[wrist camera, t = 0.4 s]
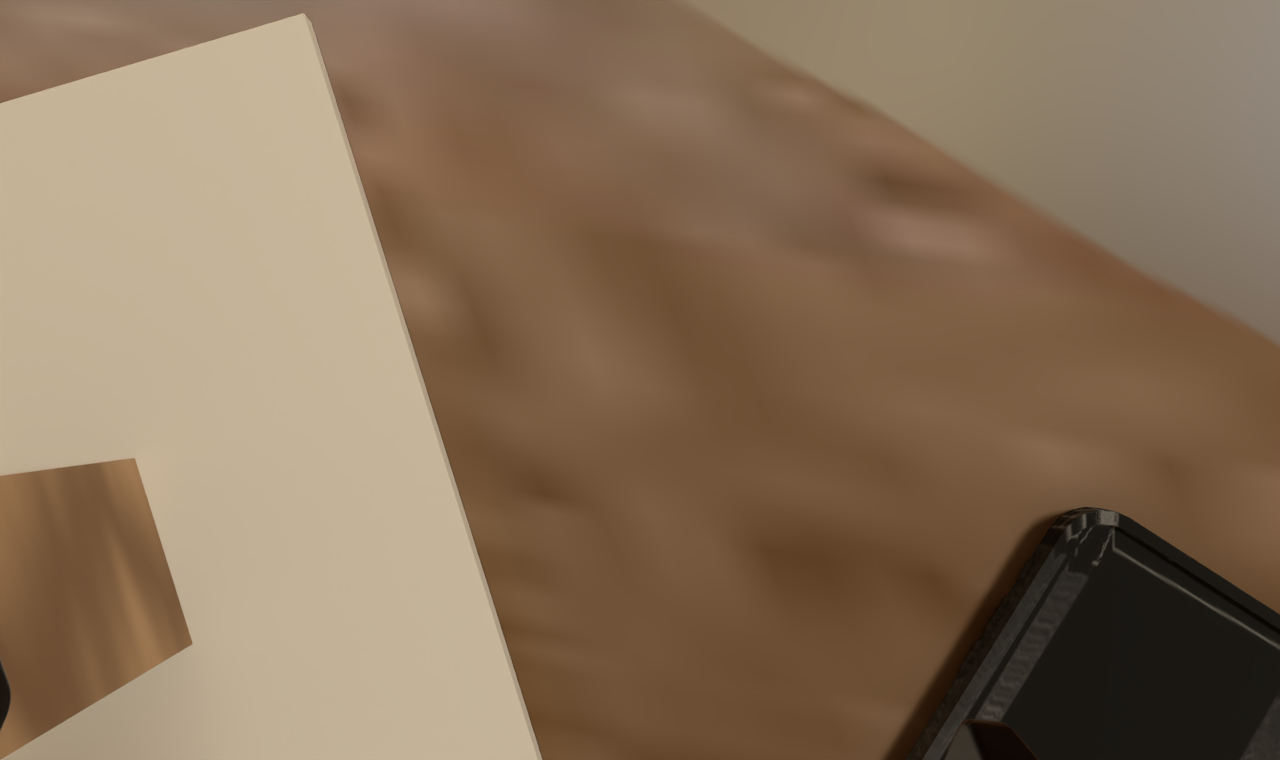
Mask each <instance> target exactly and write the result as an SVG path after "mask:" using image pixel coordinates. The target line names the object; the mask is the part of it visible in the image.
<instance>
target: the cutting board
mask: <svg viewBox="0 0 1280 760" xmlns="http://www.w3.org/2000/svg"><path fill="white" fill-rule="evenodd" d="M130 458H135V460H136V463H137V467H138V470H139V473H140V476H141V479H142V483H143V486H144V489H145V492H146V495H147V499H148V502H149V505H150V508H151V511H152V515H153V518H154V521H155V524H156V528H157V531H158V534H159V537H160V540H161V544H162V547H163V550H164V553H165V556H166V560H167V563H168V566H169V569H170V572H171V576H172V579H173V582H174V585H175V588H176V592H177V595H178V598H179V601H180V604H181V608H182V611H183V614H184V617H185V620H186V624H187V627H188V630H189V633H190V636H191V640H192V643H193V644H192V645H190V646H189V647H187V648H185V649H184V650H182V651H180V652H179V653H177V654H175V655H174V656H172V657H170V658H169V659H167V660H165V661H164V662H162V663H160V664H159V665H157V666H155V667H154V668H152V669H150V670H149V671H147V672H145V673H144V674H142V675H140V676H139V677H137V678H135V679H134V680H132V681H130V682H129V683H127V684H125V685H124V686H122V687H121V688H119V689H117V690H116V691H114V692H112V693H111V694H109V695H107V696H106V697H104V698H102V699H101V700H99V701H97V702H96V703H94V704H92V705H91V706H89V707H87V708H86V709H84V710H82V711H81V712H79V713H77V714H76V715H74V716H72V717H71V718H69V719H67V720H66V721H64V722H62V723H61V724H59V725H57V726H56V727H54V728H52V729H51V730H49V731H47V732H46V733H44V734H42V735H41V736H39V737H37V738H36V739H34V740H33V741H31V742H29V743H28V744H26V745H24V746H23V747H21V748H19V749H18V750H16V751H14V752H13V753H11V754H9V755H8V756H6V757H4V758H3V759H1V760H542V757H541V754H540V751H539V748H538V744H537V741H536V738H535V735H534V732H533V728H532V725H531V722H530V719H529V716H528V712H527V709H526V706H525V703H524V700H523V696H522V693H521V690H520V687H519V684H518V681H517V677H516V674H515V671H514V668H513V665H512V661H511V658H510V655H509V652H508V649H507V645H506V642H505V639H504V636H503V633H502V630H501V626H500V623H499V620H498V617H497V614H496V610H495V607H494V604H493V601H492V598H491V594H490V591H489V588H488V585H487V582H486V578H485V575H484V572H483V569H482V566H481V563H480V559H479V556H478V553H477V550H476V547H475V543H474V540H473V537H472V534H471V531H470V527H469V524H468V521H467V518H466V515H465V512H464V508H463V505H462V502H461V499H460V496H459V492H458V489H457V486H456V483H455V480H454V476H453V473H452V470H451V467H450V464H449V461H448V457H447V454H446V451H445V448H444V445H443V441H442V438H441V435H440V432H439V429H438V425H437V422H436V419H435V416H434V413H433V409H432V406H431V403H430V400H429V397H428V394H427V390H426V387H425V384H424V381H423V378H422V374H421V371H420V368H419V365H418V362H417V358H416V355H415V352H414V349H413V346H412V343H411V339H410V336H409V333H408V330H407V327H406V323H405V320H404V317H403V314H402V311H401V307H400V304H399V301H398V298H397V295H396V291H395V288H394V285H393V282H392V279H391V276H390V272H389V269H388V266H387V263H386V260H385V256H384V253H383V250H382V247H381V244H380V240H379V237H378V234H377V231H376V228H375V225H374V221H373V218H372V215H371V212H370V209H369V205H368V202H367V199H366V196H365V193H364V189H363V186H362V183H361V180H360V177H359V174H358V170H357V167H356V164H355V161H354V158H353V154H352V151H351V148H350V145H349V142H348V138H347V135H346V132H345V129H344V126H343V122H342V119H341V116H340V113H339V110H338V107H337V103H336V100H335V97H334V94H333V91H332V87H331V84H330V81H329V78H328V75H327V71H326V68H325V65H324V62H323V59H322V56H321V52H320V49H319V46H318V43H317V40H316V36H315V33H314V30H313V27H312V24H311V22H310V21H309V19H308V18H307V17H306V16H305V14H304V13H303V14H300V15H296V16H293V17H290V18H286V19H283V20H280V21H276V22H273V23H269V24H266V25H263V26H259V27H256V28H253V29H249V30H246V31H243V32H239V33H236V34H232V35H229V36H226V37H222V38H219V39H216V40H212V41H209V42H205V43H202V44H199V45H195V46H192V47H189V48H185V49H182V50H178V51H175V52H172V53H168V54H165V55H162V56H158V57H155V58H152V59H148V60H145V61H141V62H138V63H135V64H131V65H128V66H125V67H121V68H118V69H114V70H111V71H108V72H104V73H101V74H98V75H94V76H91V77H88V78H84V79H81V80H77V81H74V82H71V83H67V84H64V85H61V86H57V87H54V88H50V89H47V90H44V91H40V92H37V93H34V94H30V95H27V96H23V97H20V98H17V99H13V100H10V101H7V102H3V103H0V476H3V475H10V474H18V473H25V472H33V471H40V470H48V469H55V468H63V467H70V466H78V465H85V464H93V463H100V462H108V461H115V460H123V459H130Z"/></svg>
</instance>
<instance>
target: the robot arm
mask: <svg viewBox="0 0 1280 760" xmlns="http://www.w3.org/2000/svg"><path fill="white" fill-rule="evenodd" d="M10 704H11V687H10V684H9V681H8V678H7V675H6V672H5V670H4V667H3V664H2V661H1V659H0V731H1V729H2V727H3V724H4V722H5V720H6V717H7V715H8V712H9V708H10ZM944 760H1039V759H1038V758H1037V757H1036V755H1035V754H1034V753H1033V752H1032V751H1031V750H1030V748H1029V747H1028V746H1027V745H1026V744H1025V742H1024V741H1023V740H1022V739H1021V738H1020V737H1019V735H1018V734H1017V733H1016V732H1015V731H1014V730H1013V729H1012V728H1011V727H1010V726H1008V725H1007V724H1005V723H1002V722H998V721H987V720H976V719H966V720H964V721H963V722H962V723H960V725H959V727H958V728H957V730H956V733H955V735H954V737H953V740H952V742H951V744H950V747H949V749H948V752H947V754H946V756H945V759H944Z"/></svg>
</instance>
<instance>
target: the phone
mask: <svg viewBox="0 0 1280 760" xmlns="http://www.w3.org/2000/svg"><path fill="white" fill-rule="evenodd" d="M985 630H986V631H985V633H984V635H983V636H982V638H981V639H980V640H977V642H976V643H975V645H974V647H973V648H972V650H971V651H970V653H969V655H968V656H967V658H966V659H965V661H964V663H963V664H962V666H961V668H960V670H961V672H960V673H959V675H958V676H957V678H956V680H955V681H954V683H953V684H952V686H951V688H950V689H949V691H948V692H947V694H946V696H945V697H944V699H943V700H942V702H941V704H940V705H939V707H938V709H937V710H936V712H935V713H934V715H933V717H932V718H931V720H930V721H929V723H928V725H927V726H926V728H925V729H924V731H923V733H922V734H921V736H920V737H919V739H918V741H917V742H916V744H915V746H914V747H913V749H912V750H911V752H910V754H909V755H908V757H907V758H906V760H944V759H945V756H946V754H947V752H948V749H949V747H950V744H951V742H952V740H953V737H954V735H955V733H956V730H957V728H958V727H959V725H960V723H962V722H963V721H964V720H966V719H976V720H987V721H998V722H1002V723H1005V724H1007V725H1008V726H1010V727H1011V728H1012V729H1013V730H1014V731H1015V732H1016V733H1017V734H1018V735H1019V737H1020V738H1021V739H1022V740H1023V741H1024V742H1025V744H1026V745H1027V746H1028V747H1029V748H1030V750H1031V751H1032V752H1033V753H1034V754H1035V755H1036V757H1037V758H1038V759H1039V760H1280V614H1278V613H1276V612H1275V611H1273V610H1272V609H1270V608H1269V607H1267V606H1266V605H1264V604H1262V603H1261V602H1259V601H1258V600H1256V599H1255V598H1253V597H1252V596H1250V595H1248V594H1247V593H1245V592H1244V591H1242V590H1241V589H1239V588H1238V587H1236V586H1235V585H1233V584H1231V583H1230V582H1228V581H1227V580H1225V579H1224V578H1222V577H1221V576H1219V575H1217V574H1216V573H1214V572H1213V571H1211V570H1210V569H1208V568H1207V567H1205V566H1203V565H1202V564H1200V563H1199V562H1197V561H1196V560H1194V559H1193V558H1191V557H1190V556H1188V555H1186V554H1185V553H1183V552H1182V551H1180V550H1179V549H1177V548H1176V547H1174V546H1172V545H1171V544H1169V543H1168V542H1166V541H1165V540H1163V539H1162V538H1160V537H1158V536H1157V535H1155V534H1154V533H1152V532H1151V531H1149V530H1148V529H1146V528H1145V527H1143V526H1141V525H1140V524H1138V523H1137V522H1135V521H1134V520H1132V519H1131V518H1129V517H1127V516H1124V515H1122V514H1120V513H1117V512H1115V511H1110V510H1106V509H1101V508H1092V507H1083V508H1079V509H1074V510H1071V511H1069V512H1068V513H1066V514H1064V515H1063V516H1061V517H1059V518H1058V519H1057V520H1056V522H1055V523H1054V524H1053V525H1052V526H1051V527H1050V529H1049V530H1048V532H1047V533H1046V535H1045V536H1044V538H1043V540H1042V541H1041V543H1040V544H1039V546H1038V548H1037V549H1036V551H1035V552H1034V554H1033V556H1032V557H1031V558H1030V559H1029V561H1028V562H1027V564H1026V566H1025V567H1024V569H1023V570H1022V572H1021V574H1020V575H1019V578H1018V580H1017V581H1016V583H1015V585H1014V586H1013V588H1012V589H1011V591H1010V593H1009V594H1008V596H1007V597H1005V598H1004V600H1003V601H1002V603H1001V605H1000V606H999V608H998V609H997V611H996V613H995V614H994V616H993V617H992V619H991V621H990V622H989V624H988V625H987V627H986V629H985Z"/></svg>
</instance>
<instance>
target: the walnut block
mask: <svg viewBox="0 0 1280 760" xmlns="http://www.w3.org/2000/svg"><path fill="white" fill-rule="evenodd" d="M192 644H193V643H192V640H191V636H190V633H189V630H188V627H187V624H186V620H185V617H184V614H183V611H182V608H181V604H180V601H179V598H178V595H177V592H176V588H175V585H174V582H173V579H172V576H171V572H170V569H169V566H168V563H167V560H166V556H165V553H164V550H163V547H162V544H161V540H160V537H159V534H158V531H157V528H156V524H155V521H154V518H153V515H152V511H151V508H150V505H149V502H148V499H147V495H146V492H145V489H144V486H143V483H142V479H141V476H140V473H139V470H138V467H137V463H136V460H135V458H130V459H123V460H115V461H108V462H100V463H93V464H85V465H78V466H70V467H63V468H55V469H48V470H40V471H33V472H25V473H18V474H10V475H3V476H0V659H1V661H2V664H3V667H4V670H5V672H6V675H7V678H8V681H9V684H10V687H11V704H10V708H9V712H8V715H7V717H6V720H5V722H4V724H3V727H2V729H1V731H0V760H1V759H3V758H4V757H6V756H8V755H9V754H11V753H13V752H14V751H16V750H18V749H19V748H21V747H23V746H24V745H26V744H28V743H29V742H31V741H33V740H34V739H36V738H37V737H39V736H41V735H42V734H44V733H46V732H47V731H49V730H51V729H52V728H54V727H56V726H57V725H59V724H61V723H62V722H64V721H66V720H67V719H69V718H71V717H72V716H74V715H76V714H77V713H79V712H81V711H82V710H84V709H86V708H87V707H89V706H91V705H92V704H94V703H96V702H97V701H99V700H101V699H102V698H104V697H106V696H107V695H109V694H111V693H112V692H114V691H116V690H117V689H119V688H121V687H122V686H124V685H125V684H127V683H129V682H130V681H132V680H134V679H135V678H137V677H139V676H140V675H142V674H144V673H145V672H147V671H149V670H150V669H152V668H154V667H155V666H157V665H159V664H160V663H162V662H164V661H165V660H167V659H169V658H170V657H172V656H174V655H175V654H177V653H179V652H180V651H182V650H184V649H185V648H187V647H189V646H190V645H192Z"/></svg>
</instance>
